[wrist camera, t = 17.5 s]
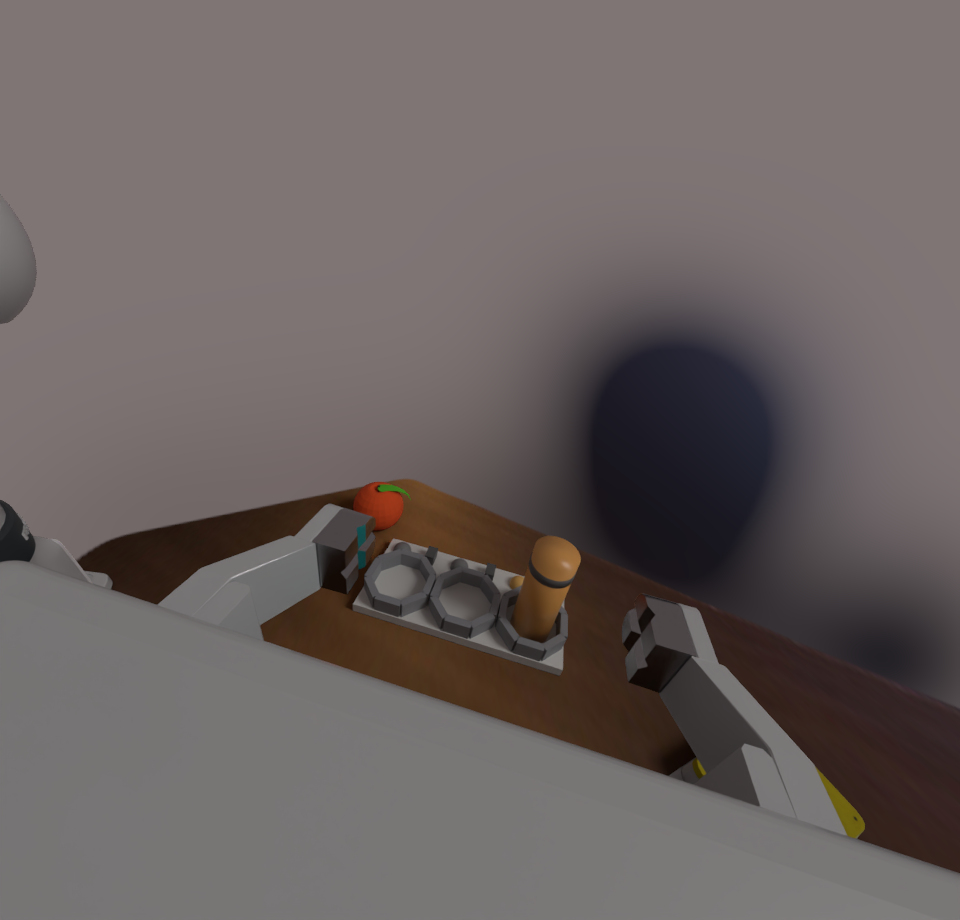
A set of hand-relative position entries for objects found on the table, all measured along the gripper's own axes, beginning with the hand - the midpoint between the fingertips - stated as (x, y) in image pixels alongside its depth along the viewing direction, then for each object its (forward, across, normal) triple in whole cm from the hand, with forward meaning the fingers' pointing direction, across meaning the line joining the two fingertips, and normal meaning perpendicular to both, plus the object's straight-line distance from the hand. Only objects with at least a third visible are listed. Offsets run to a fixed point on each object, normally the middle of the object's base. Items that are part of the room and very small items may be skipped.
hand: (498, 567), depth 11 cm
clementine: (+30, +17, +30) cm, 46 cm away
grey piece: (+21, +2, +30) cm, 37 cm away
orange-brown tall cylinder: (+20, -6, +29) cm, 35 cm away
